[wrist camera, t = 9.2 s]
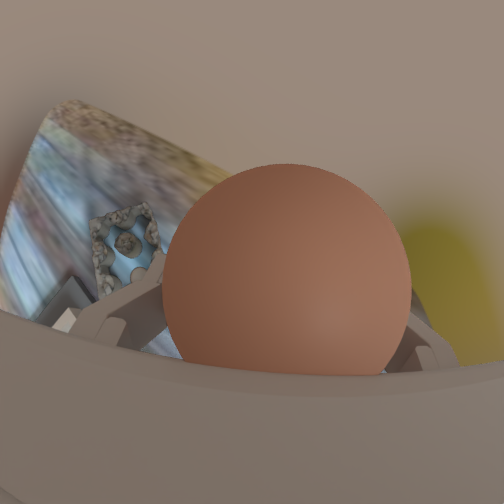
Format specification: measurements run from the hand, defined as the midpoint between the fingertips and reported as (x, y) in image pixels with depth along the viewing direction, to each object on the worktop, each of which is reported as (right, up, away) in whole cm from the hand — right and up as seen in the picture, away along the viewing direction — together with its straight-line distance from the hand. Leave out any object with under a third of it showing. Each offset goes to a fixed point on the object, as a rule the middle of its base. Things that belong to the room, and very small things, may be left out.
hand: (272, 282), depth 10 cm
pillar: (0, -2, +5) cm, 5 cm away
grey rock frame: (-13, 0, +20) cm, 24 cm away
